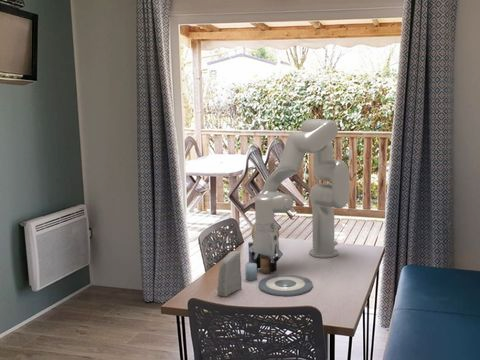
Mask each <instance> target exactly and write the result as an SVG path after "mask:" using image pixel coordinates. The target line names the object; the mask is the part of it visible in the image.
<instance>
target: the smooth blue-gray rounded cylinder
mask: <svg viewBox="0 0 480 360" xmlns="http://www.w3.org/2000/svg"><path fill="white" fill-rule="evenodd" d="M244 267H245V280H246V281H247V282H256V281H257V280H258V269H257V264H256V263H249V262H246V263H245V266H244Z"/></svg>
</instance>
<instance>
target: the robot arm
mask: <svg viewBox="0 0 480 360" xmlns="http://www.w3.org/2000/svg"><path fill="white" fill-rule="evenodd" d="M300 130H301V131H293V132H290V133H289V134H288V136H287V138H286V141H285V145H284V147H283V151H282V154H281V158H280V161H279V165H278V166H277V167H276V168H275V169H274V170H273V171H272V173H271V174H270V175H269V176H268V177H267V179H266V180H265V182H264V184H263V187H262V191H261V195H258V196H256V197H255V199H254V207H255V208H254V213H255V215H254V216H255V222H256V229H255V231H254V237H253V239H252V242H253V245H252V246H251V247H250V248H249V247H248V251H249V250H250V252H251V253H252V255H253V256H254V259H255V263H256V264H257V270H258V269H259V270H260V269H261V265H260V256H261V255H266V256H270V259H271V274H272V273H275V272H277V269H278V266H277V265H278V263H277V262H278V261H279V260H280V259H281V258H282V257H283V255H284V254H283V252H282V251H281V250H280V242H279V241H280V240H279V238H278V235H277V231H276V230H275V229H276V228H277V227H278V225H277V224H276V225H277V226H276V225H275V223H276V222H275V214H279V213H281V214H282V213H283V214H284V213H288V212H289V211H291V210H292V208H293V206H294V200H293V197H292V196H291V195H289V194H287V193H282V192H277V191H278V188H279V186H280V185H281V184H282V182H284V181H285V180H287V179H289V178H291V177H292V176H295V175H296V174H299V172H300V170H301V165H302V163H303V160H304V155H305V154H313V156H312V157H313V158H312V159H313V166H312V169H313V175H314V178H315V179H316V180H320V181H324V182H323V183H322V182H320V183H316V184H314V185H313V186H312V187H311V188H310V191H309V199H310V203H311V213H312V215H311V217H312V222H311V223H312V227H311V228H312V231H311V232H312V248H311V249H309V250H308V254H309V255H310V257H314V258H320V259H328V258H334V257H336V256H338V255H339V251H338V250H337V249H336V248H335V246H337V245H339V244H338V241H337V240H335V212H334V208H335V209H343V208H344V207H345V206H347V204H348V202H349V199H350V198H349V197H350V169H349V167H348V166H349V165H348V164H347V163H346V162H345V161H343V160H341V159H335V158H334V157H335V156H334V146H333V142H332V141H334V139H336V137H337V135H338V132H339V126H338V124H337V122H336V121H334V120H332V119H324V118H323V119H319V118H310V119H305V120H303V121H302V122H301V125H300ZM325 182H329V183H330V182H331V183H330V184H329V183H325ZM274 222H275V223H274Z"/></svg>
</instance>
